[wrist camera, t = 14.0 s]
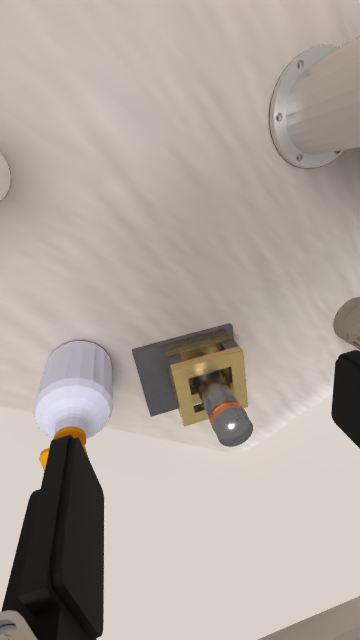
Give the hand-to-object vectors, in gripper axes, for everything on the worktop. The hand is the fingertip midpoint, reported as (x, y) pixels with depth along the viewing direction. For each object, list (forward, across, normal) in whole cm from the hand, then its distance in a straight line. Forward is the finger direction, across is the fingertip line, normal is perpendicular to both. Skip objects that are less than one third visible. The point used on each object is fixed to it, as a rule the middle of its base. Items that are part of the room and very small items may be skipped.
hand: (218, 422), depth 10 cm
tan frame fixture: (+32, -4, +21) cm, 39 cm away
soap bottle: (+32, +12, +15) cm, 38 cm away
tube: (+31, -6, +21) cm, 38 cm away
